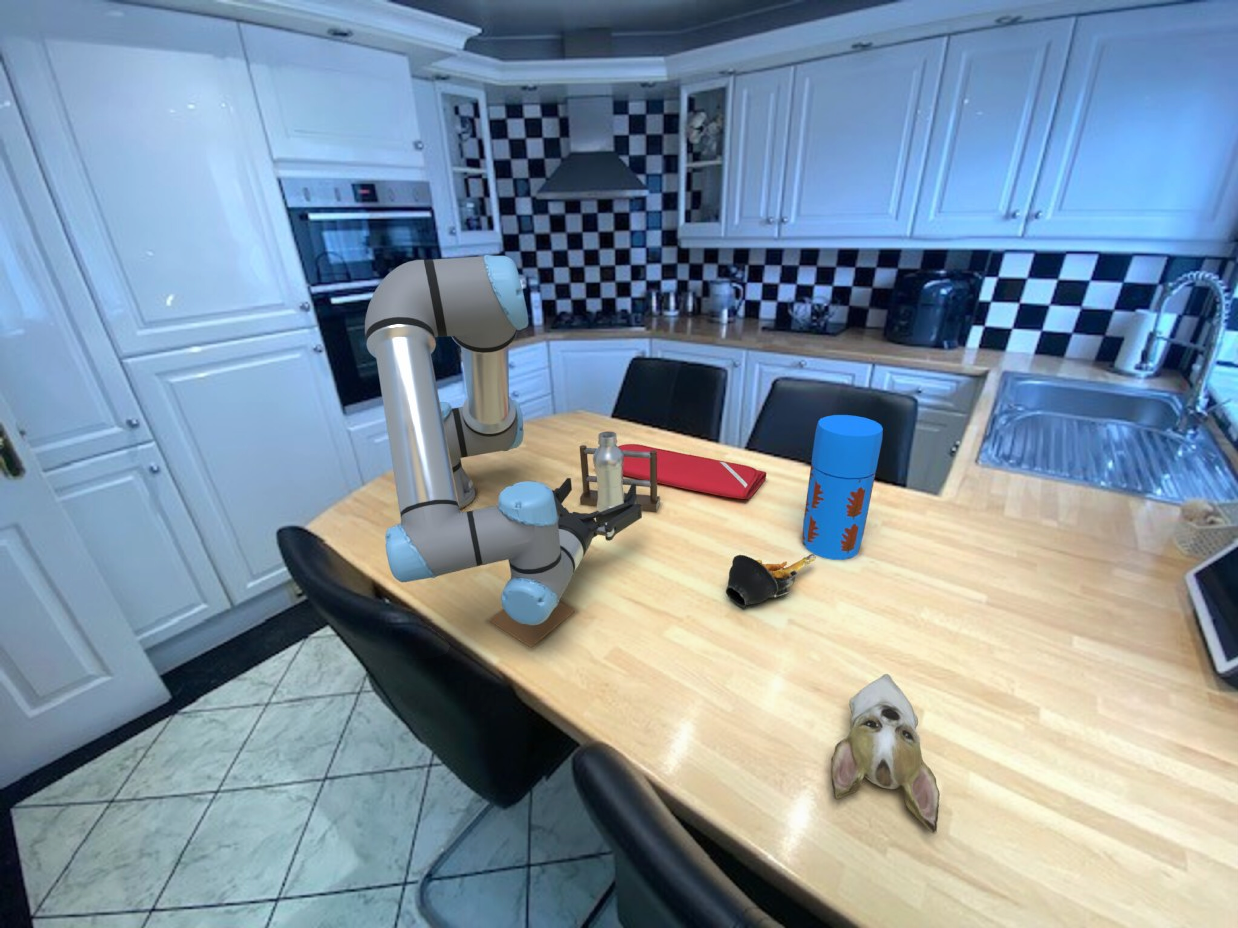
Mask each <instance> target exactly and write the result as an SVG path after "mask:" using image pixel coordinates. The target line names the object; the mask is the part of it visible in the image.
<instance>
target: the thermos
mask: <svg viewBox="0 0 1238 928" xmlns="http://www.w3.org/2000/svg"><path fill="white" fill-rule="evenodd" d="M883 431H884V428H883V426H882V424H881V423H879V422H877V421H876V420H873V419H871V418H867V417H862V416H857V415H850V414H834V415H828V416H824V417H821V418H820V419H819V420H818V421H817V424H816V428H815V433H814V440H813V447H812V453H811V454H812V455H811V463H810V470H809V471H810V472H809V477H808V484H807V492H806V500H805V507H804V515H803V523H802V538H801V539H802V544H803V546H804V547H805V549H806V550H807V551H809V552H811V554H814V555H815V556H819V557H821V558H825V559H830V560H833V561H834V560H839V561H841V560H842V561H843V560H848V559H853V558H854V557H855V556H857V555H858V553H859V551H860V548H861V544H862V541H863V537H864V534H865V529H866V524H867V519H868V514H869V509H870V503H871V498H872V493H873V488H874V484H875V479H876V473H877V468H878V462H879V457H880V453H881V447H882V443H883V434H884V433H883Z"/></svg>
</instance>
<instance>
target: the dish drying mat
mask: <svg viewBox="0 0 1238 928" xmlns="http://www.w3.org/2000/svg"><path fill="white" fill-rule="evenodd" d="M617 446H618V447H619V449H620V450H626V451H639V452H650V451H651V450H655V451H657V484H660V485H661V484H662V485H666V486H670V487H671V486H672V487H676V488H681V489H685V490H691V491H695V492H701V493H706V494H711V495H716V496H721V497H725V498H733V499H740V500H749V499H751V498H752V497H753V496H754V495H755V493H756V492H757V491H758V489H759V488H760V487H761V486H762V484H763V483H764V482H766V479H767V472H766V471H763V470H759V469H756V468H754V467H752V466H749V465H745V464H741V463H736V462H729V461H724V460H719V459H715V458H709V457H705V456H699V455H694V454H688V453H683V452H678V451H673V450H668V449H662V448H657V447H654V446H653V447H652V446H648V445H644V444H639V443H637V444H636V443H627V444H626V443H625V444H621V445H617ZM623 476H625V477H631V478H634V479H637V480H646V481H650V459H647V458H634V457H624V468H623Z"/></svg>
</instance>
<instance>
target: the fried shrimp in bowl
mask: <svg viewBox="0 0 1238 928" xmlns="http://www.w3.org/2000/svg"><path fill="white" fill-rule="evenodd" d="M816 556H817V555H816V554H814V553H811V554H809V555H807V556H806V557H803V559H801V560H799V561H797V562H795V563H793V564H791V565H789V566H787V564H788V561H783V562H782V563H763V560H762V559H755V558H753V557H750V556H747V555H745V554H738V555H735V556H734V557H733V558H732V565H731V566H730V569H729V570H728V580H727V587H726V590H725V594H726V596H727V597H728V599H730V600H731V601H732V602H733V603H734V604H736V605H737V606H738V607H740V608H745V607H746V606H747V605H756V604H760V603H762V602H763V601H765V600H767V599H768V598H770V599H774V598H777V597H781V596H784V595H786V594H788V593H789V592H790V590H789V588H790V587H792V585H793V584H794V583H795V581H796V578H797V577H798V574H799V573H798V572H799V571H800V570H801V569H802V568H803V567H804V566H807V565H809V564H810V563H812V562H815V561H816V558H817V557H816Z"/></svg>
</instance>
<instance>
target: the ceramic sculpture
mask: <svg viewBox="0 0 1238 928" xmlns="http://www.w3.org/2000/svg"><path fill="white" fill-rule="evenodd" d="M848 706H849V710H850V713H851V718H850V727H849V729H850V731H849V734H848V735H847V737H846V738H843V739H842V740H840V741H839V742H838V743H837V744H836V745H835V746H834V751H833V754H832V756H831V759H830V763H831V765H830V773H831V774H830V777H831V779H830V780H831V786H832V789H833V796H834V799H836V800H839V799H841V798H843V797H845V796H849V795H850V794H852V793H855V792H857V791H859V790H860V789H861V788H862V784H863V780H864V779H867V780H868V781H869V782H871V783H872V784H874V785H877V786H878V787H880V788H883V789H890V790H895V789H898V788H901V787H902V788H903V800H904V801H903V802H904V804H905V806H906V807H907V808H908V810H909V811H910V812H911V813H912V814H913V815H914V816H915V817H916V819H918V820H919V821H920V822H921V823H922V824H923V825H924V826H925V828H927V830H928V831H930V832H931V834H934V835H935V834H937V829H938V824H937V823H938V821H939V820H938V819H939V807H940V795H941V794H940V790H939V788H938V785H937V778H936V776H935V774H934V773H933V771H932V769H931V768H930V767H929V766H928V765H927V764H926V763H925V761H924V759H923V755H922V749H921V741H920V740H921V739H920V735H919V734H918V731H917V726H918V725H919V717H918V716H917V715H916V713H915V709H914V707H913V706H912V703H911V702H910V700H909V699H908V698H907V696H906V695H905V693H904V692H903V691H902V689H901V688H900V687H899V686H898V684H897V683H895V681H894V680H893V679H892V676H891V675H890V674H888V673H885V674H883V675H882V676H880V677H878V678H877V679H875V680H873V681H872V682H870V683H869V684H868V685H866V686H865V687H863V688H862V689H860V690H859V691H858V692H857V693H856V694H855V695H854V696H853V697H851V698H850V699H849V703H848Z"/></svg>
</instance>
